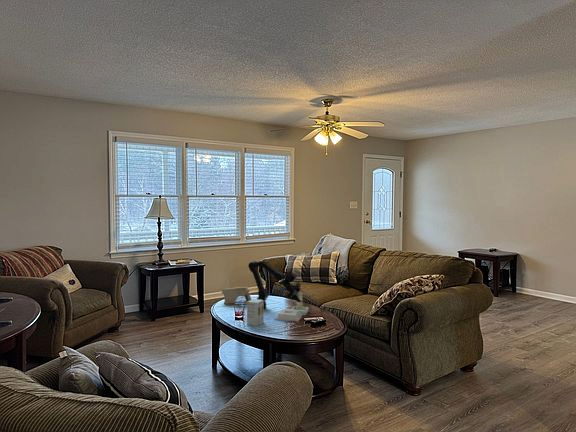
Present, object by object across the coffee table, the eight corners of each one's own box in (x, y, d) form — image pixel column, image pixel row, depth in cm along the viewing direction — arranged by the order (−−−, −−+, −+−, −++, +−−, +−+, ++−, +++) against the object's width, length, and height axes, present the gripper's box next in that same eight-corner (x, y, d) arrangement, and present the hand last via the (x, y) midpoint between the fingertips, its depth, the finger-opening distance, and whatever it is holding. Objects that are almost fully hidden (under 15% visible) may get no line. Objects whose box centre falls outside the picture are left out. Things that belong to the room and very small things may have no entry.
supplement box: (257, 326, 280) (257, 303, 279) (246, 324, 284) (246, 301, 283) (264, 322, 289) (263, 299, 288) (252, 321, 292) (252, 298, 291)
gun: (252, 303, 339) (250, 286, 339) (251, 304, 336) (249, 287, 335) (224, 305, 342) (222, 288, 341) (223, 306, 338) (221, 289, 338)
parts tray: (290, 314, 308) (290, 310, 308) (294, 309, 320) (293, 306, 320) (305, 315, 305) (305, 311, 305) (308, 310, 317) (308, 307, 317)
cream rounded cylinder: (297, 309, 310) (297, 293, 309) (295, 308, 314) (295, 292, 314) (303, 309, 311) (303, 293, 310) (301, 307, 315) (301, 291, 315)
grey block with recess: (274, 319, 295) (274, 313, 295) (279, 314, 308) (279, 308, 308) (298, 321, 290) (298, 315, 290) (302, 315, 304) (302, 310, 304)
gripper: (290, 281, 304) (304, 297, 301) (298, 277, 321) (311, 291, 318) (281, 291, 307) (294, 306, 304) (289, 285, 325) (302, 300, 321)
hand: (301, 300), depth 312 cm, fingers closed on cream rounded cylinder, 4 cm apart
